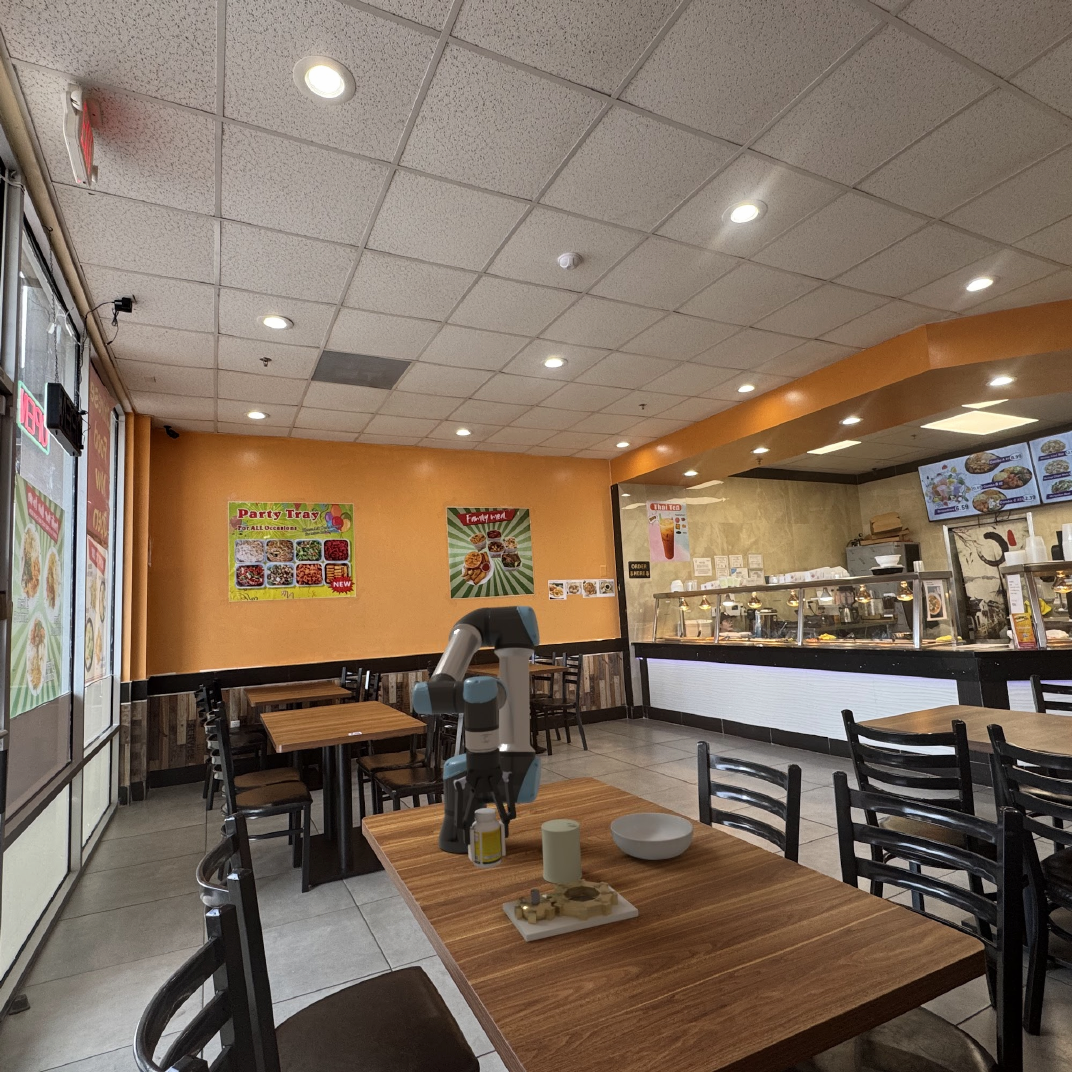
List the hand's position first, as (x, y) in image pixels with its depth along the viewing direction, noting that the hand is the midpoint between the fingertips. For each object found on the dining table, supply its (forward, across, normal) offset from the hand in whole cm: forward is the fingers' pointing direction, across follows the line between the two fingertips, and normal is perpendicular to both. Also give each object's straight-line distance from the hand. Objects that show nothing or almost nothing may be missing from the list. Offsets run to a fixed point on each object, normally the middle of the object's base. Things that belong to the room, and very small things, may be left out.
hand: (487, 856), depth 145 cm
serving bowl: (+11, +46, +8) cm, 48 cm away
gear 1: (+8, +6, -13) cm, 16 cm away
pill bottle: (+2, 0, 0) cm, 2 cm away
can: (+10, +20, +5) cm, 23 cm away
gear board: (+9, +14, -13) cm, 21 cm away
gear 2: (+8, +17, -13) cm, 22 cm away
